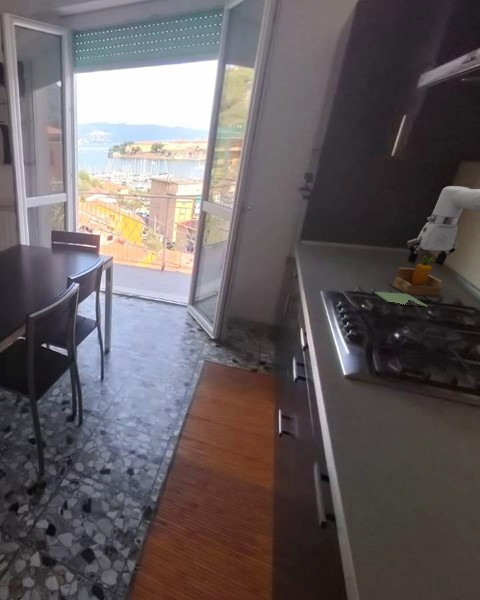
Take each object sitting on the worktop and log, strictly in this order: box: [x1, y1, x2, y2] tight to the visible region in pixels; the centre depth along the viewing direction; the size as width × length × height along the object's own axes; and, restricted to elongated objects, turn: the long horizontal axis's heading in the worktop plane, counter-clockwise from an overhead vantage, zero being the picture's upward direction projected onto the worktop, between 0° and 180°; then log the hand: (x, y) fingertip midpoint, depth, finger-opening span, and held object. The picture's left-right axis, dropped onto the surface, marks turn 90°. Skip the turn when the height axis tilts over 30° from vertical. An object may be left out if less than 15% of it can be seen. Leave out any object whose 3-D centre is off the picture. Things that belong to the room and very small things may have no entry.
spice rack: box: [391, 267, 443, 297], centre depth 145 cm, size 10×11×8 cm
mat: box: [373, 291, 429, 309], centre depth 138 cm, size 12×12×1 cm
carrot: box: [412, 255, 436, 286], centre depth 144 cm, size 5×5×15 cm
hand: (424, 263), depth 142 cm, fingers open, 9 cm apart
